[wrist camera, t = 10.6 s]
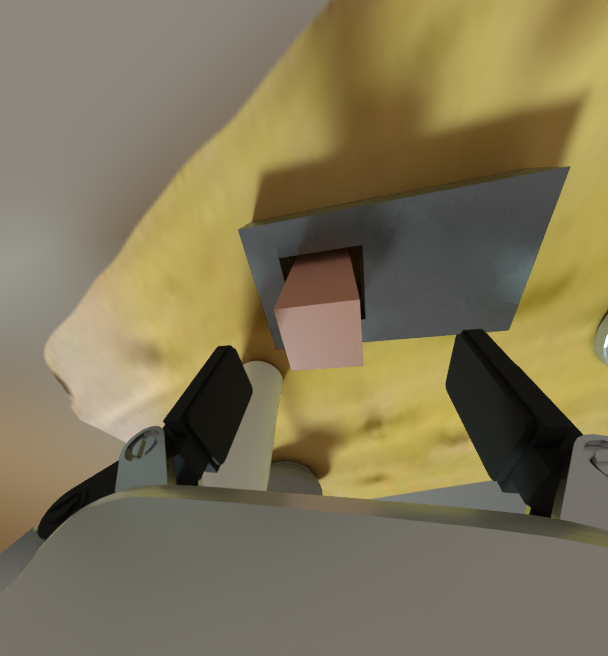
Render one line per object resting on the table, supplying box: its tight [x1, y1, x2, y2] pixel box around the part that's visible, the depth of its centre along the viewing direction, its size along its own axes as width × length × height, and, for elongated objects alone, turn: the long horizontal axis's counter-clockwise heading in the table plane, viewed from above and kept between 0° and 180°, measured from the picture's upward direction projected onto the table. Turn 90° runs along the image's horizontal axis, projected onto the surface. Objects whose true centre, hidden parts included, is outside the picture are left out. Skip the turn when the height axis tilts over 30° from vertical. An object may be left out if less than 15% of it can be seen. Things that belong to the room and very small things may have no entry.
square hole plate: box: [238, 166, 570, 349], centre depth 17 cm, size 18×10×3 cm, turn 101°
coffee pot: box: [267, 461, 322, 496], centre depth 31 cm, size 21×12×15 cm, turn 25°
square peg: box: [274, 247, 363, 371], centre depth 15 cm, size 4×4×9 cm
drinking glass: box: [202, 361, 283, 491], centre depth 20 cm, size 7×7×15 cm
